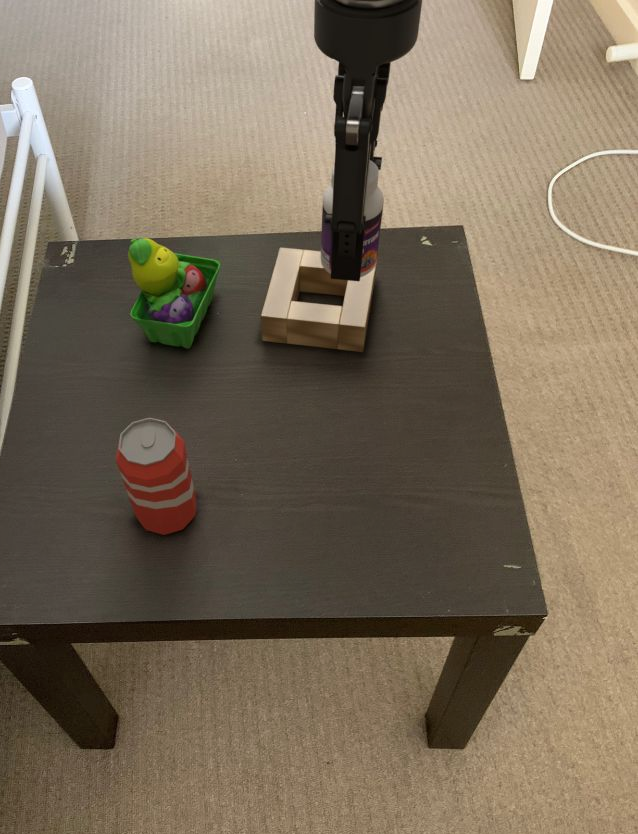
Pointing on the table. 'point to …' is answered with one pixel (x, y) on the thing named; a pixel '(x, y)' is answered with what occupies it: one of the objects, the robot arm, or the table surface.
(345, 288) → the block
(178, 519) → the beverage can
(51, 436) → the table surface
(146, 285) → the fruit basket
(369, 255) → the pill bottle
